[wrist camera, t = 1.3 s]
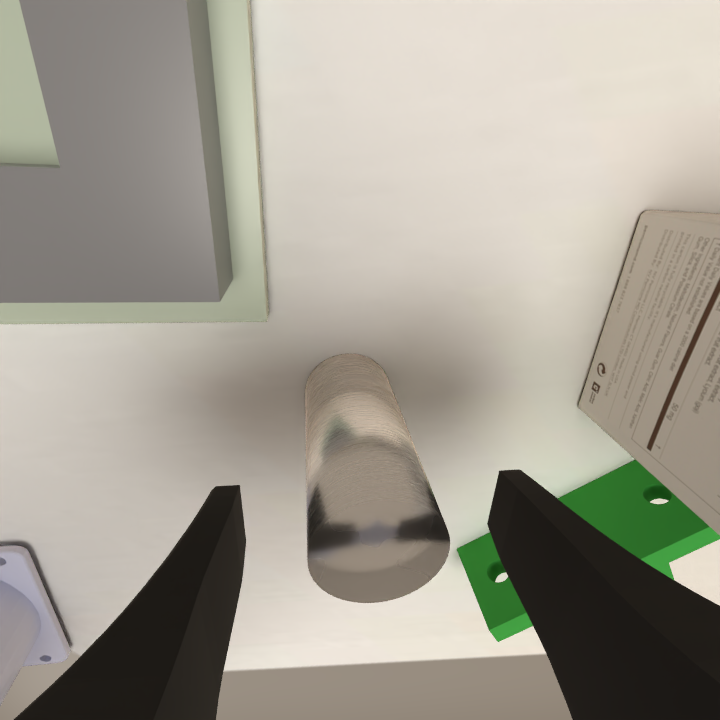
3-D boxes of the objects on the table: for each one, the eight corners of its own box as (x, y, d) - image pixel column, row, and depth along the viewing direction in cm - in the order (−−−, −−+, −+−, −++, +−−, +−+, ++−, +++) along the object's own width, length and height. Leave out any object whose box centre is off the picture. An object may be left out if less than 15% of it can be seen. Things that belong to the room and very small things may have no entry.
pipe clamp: (480, 581, 24) (516, 668, 20) (454, 544, 23) (488, 630, 18) (665, 494, 23) (744, 568, 19) (652, 448, 21) (735, 518, 17)
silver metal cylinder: (305, 429, 18) (308, 608, 11) (304, 354, 16) (306, 505, 9) (386, 425, 18) (441, 595, 11) (391, 352, 17) (459, 495, 10)
